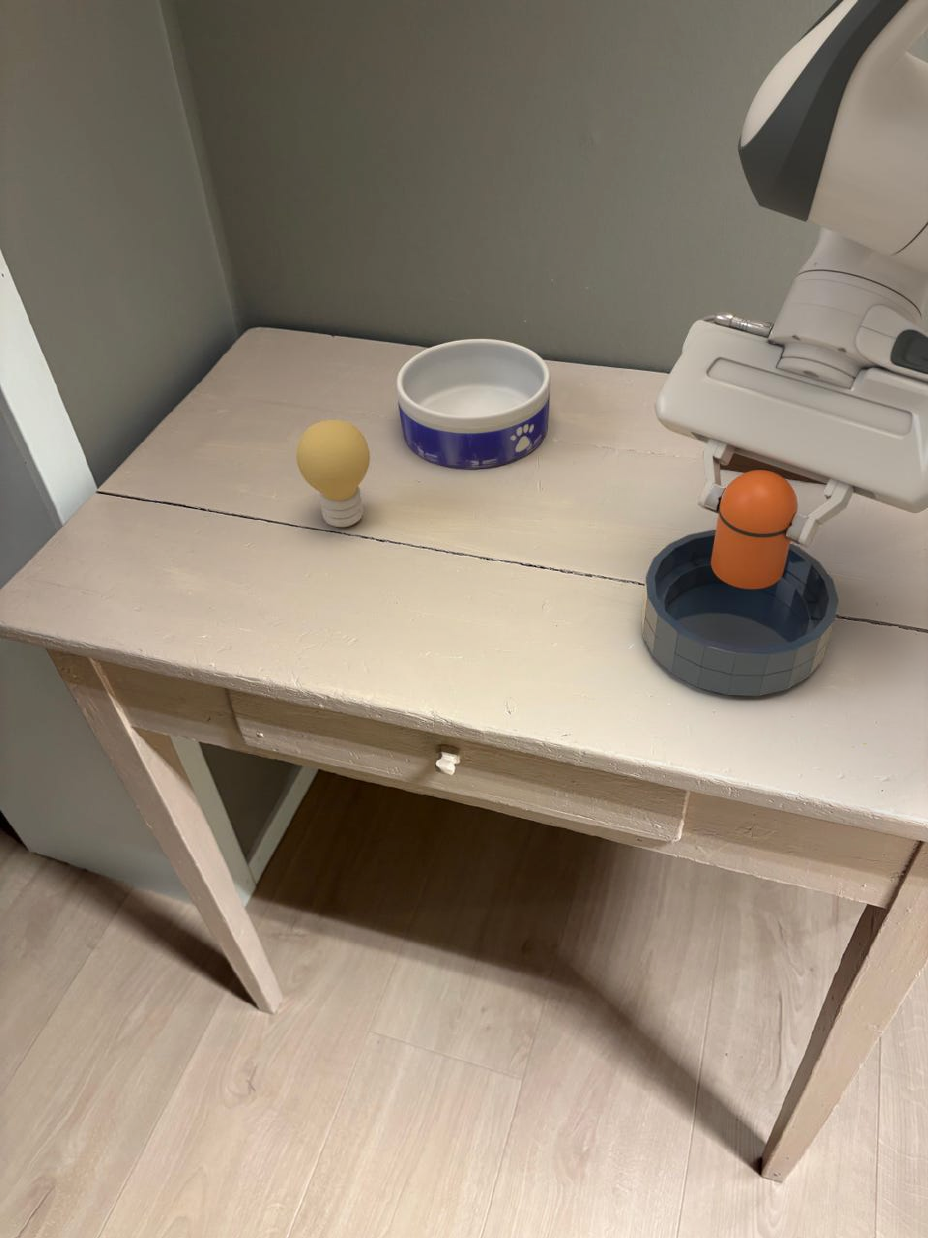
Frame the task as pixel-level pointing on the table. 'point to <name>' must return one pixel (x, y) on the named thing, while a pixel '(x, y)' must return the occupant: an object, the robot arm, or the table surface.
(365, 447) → the light bulb
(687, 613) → the glazed bowl
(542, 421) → the dog bowl
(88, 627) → the table surface
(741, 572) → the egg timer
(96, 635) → the table surface
